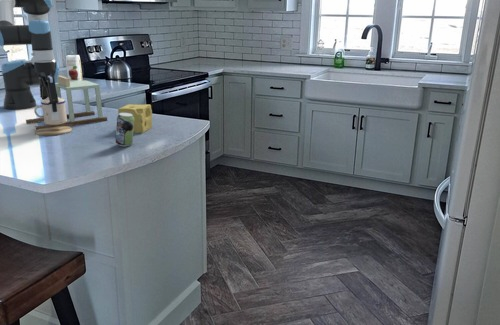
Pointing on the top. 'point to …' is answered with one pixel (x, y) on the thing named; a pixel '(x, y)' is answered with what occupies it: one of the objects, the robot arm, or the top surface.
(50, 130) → the trivet
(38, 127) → the rails
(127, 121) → the beverage can
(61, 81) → the small green table
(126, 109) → the cheese
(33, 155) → the top surface
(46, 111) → the teacup with lid
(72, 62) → the juice carton
